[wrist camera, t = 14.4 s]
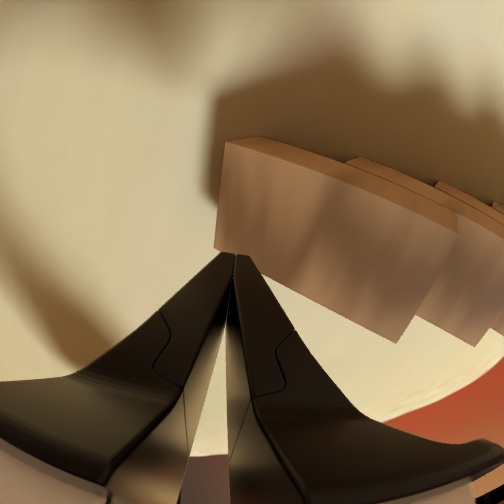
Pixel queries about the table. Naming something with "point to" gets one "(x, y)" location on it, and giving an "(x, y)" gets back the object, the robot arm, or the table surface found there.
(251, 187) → the domino
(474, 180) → the table surface
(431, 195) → the domino
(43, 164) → the table surface
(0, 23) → the table surface
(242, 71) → the table surface
